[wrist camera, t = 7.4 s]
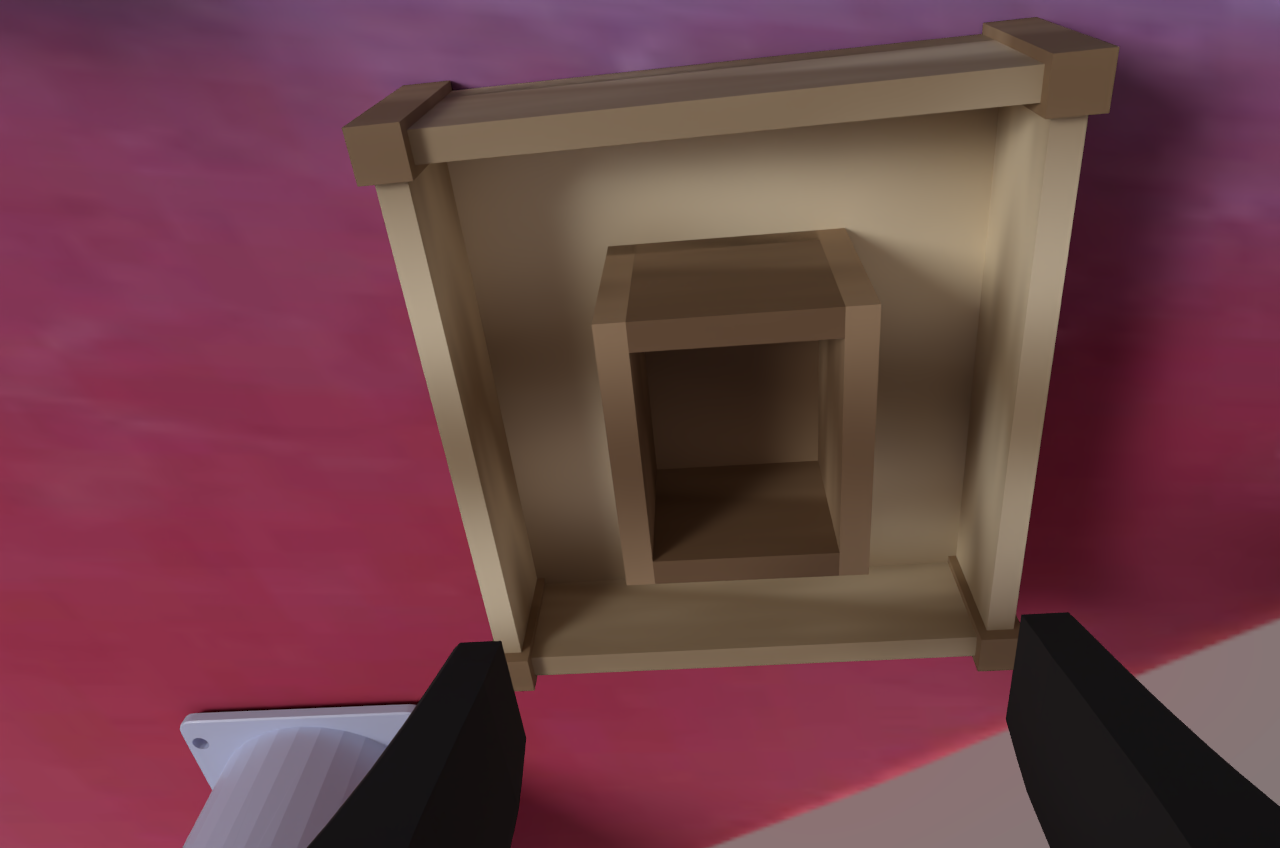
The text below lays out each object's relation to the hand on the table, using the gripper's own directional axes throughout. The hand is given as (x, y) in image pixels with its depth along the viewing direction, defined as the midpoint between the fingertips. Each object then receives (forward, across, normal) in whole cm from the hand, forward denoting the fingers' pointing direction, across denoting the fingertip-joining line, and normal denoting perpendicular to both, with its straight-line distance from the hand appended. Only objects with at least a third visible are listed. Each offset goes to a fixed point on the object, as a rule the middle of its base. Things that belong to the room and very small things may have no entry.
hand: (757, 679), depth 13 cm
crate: (+10, 0, 0) cm, 10 cm away
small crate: (+9, 0, 0) cm, 9 cm away
